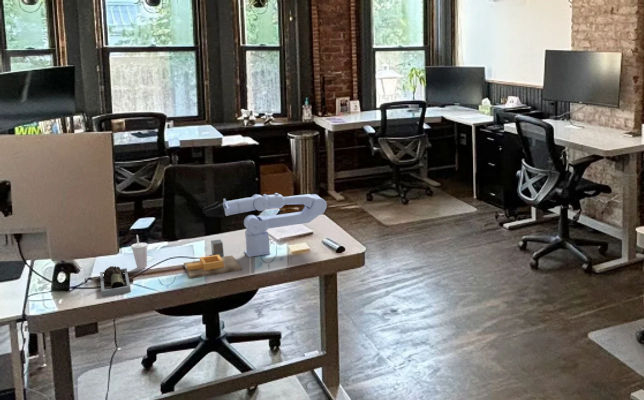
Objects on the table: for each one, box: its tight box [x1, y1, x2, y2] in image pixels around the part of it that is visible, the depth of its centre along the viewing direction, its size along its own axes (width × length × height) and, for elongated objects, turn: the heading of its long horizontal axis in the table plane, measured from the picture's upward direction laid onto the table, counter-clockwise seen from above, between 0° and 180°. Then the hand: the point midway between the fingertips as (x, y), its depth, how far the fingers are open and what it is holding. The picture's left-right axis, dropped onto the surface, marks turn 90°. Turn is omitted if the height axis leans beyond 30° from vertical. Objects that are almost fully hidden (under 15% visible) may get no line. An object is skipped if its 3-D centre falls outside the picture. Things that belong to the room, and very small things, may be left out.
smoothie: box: [130, 234, 149, 270], centre depth 255 cm, size 6×6×14 cm
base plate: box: [183, 254, 242, 279], centre depth 253 cm, size 20×16×1 cm
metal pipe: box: [103, 265, 126, 289], centre depth 240 cm, size 18×7×6 cm, turn 21°
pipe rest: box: [99, 267, 132, 297], centre depth 240 cm, size 10×21×2 cm, turn 20°
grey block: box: [210, 239, 225, 257], centre depth 267 cm, size 4×5×6 cm
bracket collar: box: [187, 255, 224, 270], centre depth 252 cm, size 13×9×2 cm, turn 110°
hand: (204, 212), depth 257 cm, fingers open, 7 cm apart
